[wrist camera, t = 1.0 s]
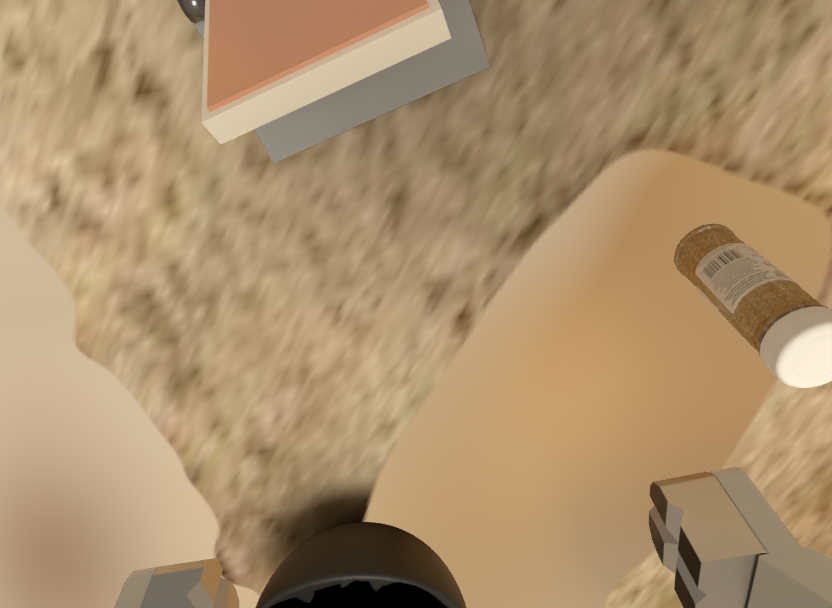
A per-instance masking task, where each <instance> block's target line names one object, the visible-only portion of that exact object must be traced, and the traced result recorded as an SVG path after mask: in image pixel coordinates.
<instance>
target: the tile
mask: <svg viewBox="0 0 832 608" xmlns="http://www.w3.org/2000/svg"><path fill="white" fill-rule="evenodd" d="M449 39H451V36H450V33H449V30H448V26H447V23H446V20H445V17H444V14H443V11H442V8H441V6H440V4H439V1H438V0H205V26H204V56H203V85H202V115H201V123H202V124H203V125H204V126H205V127H206V129H207V130H208V131H209V132H210V133H211V134H212V135H213V137H214V138H215V139H216V140H217V141H218V142H219V143H220V145H221V144H223V143H225V142H227V141H230V140H232V139H234V138H236V137H238V136H240V135H243V134H245V133H247V132H249V131H251V130H253V129H256V128H258V127H260V126H262V125H264V124H266V123H269V122H271V121H273V120H275V119H277V118H279V117H282V116H284V115H286V114H288V113H290V112H292V111H295V110H297V109H299V108H301V107H303V106H306V105H308V104H310V103H312V102H314V101H316V100H319V99H321V98H323V97H325V96H327V95H329V94H332V93H334V92H336V91H338V90H340V89H342V88H345V87H347V86H349V85H351V84H353V83H355V82H358V81H360V80H362V79H364V78H366V77H368V76H371V75H373V74H375V73H377V72H379V71H381V70H384V69H386V68H388V67H390V66H392V65H394V64H397V63H399V62H401V61H403V60H405V59H407V58H410V57H412V56H414V55H416V54H418V53H420V52H423V51H425V50H427V49H429V48H431V47H433V46H436V45H438V44H440V43H442V42H444V41H446V40H449Z"/></svg>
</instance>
